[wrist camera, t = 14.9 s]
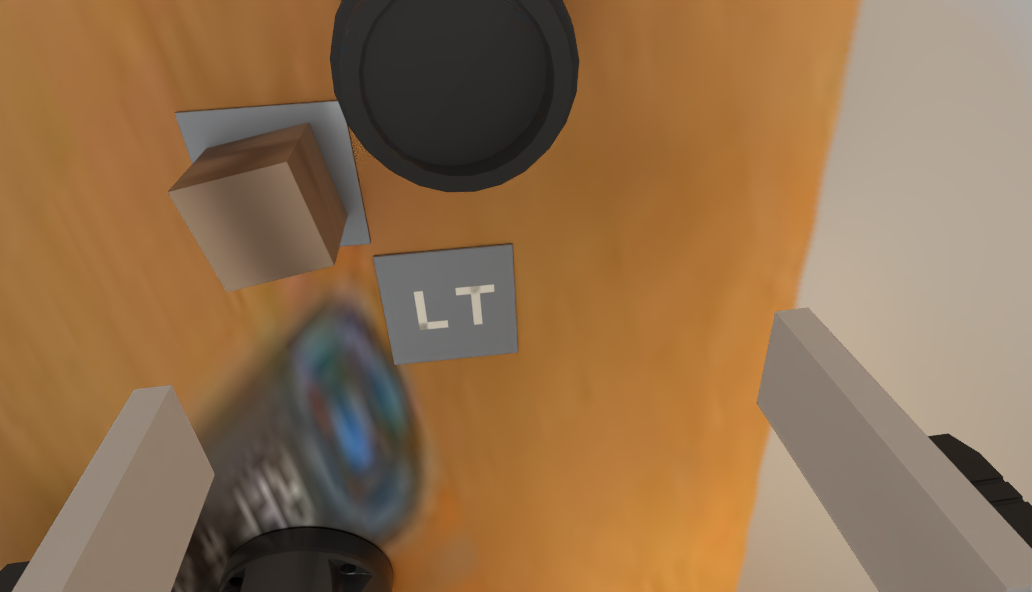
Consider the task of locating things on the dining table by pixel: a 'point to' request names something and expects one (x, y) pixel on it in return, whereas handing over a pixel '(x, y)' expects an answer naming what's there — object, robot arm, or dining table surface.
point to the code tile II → (252, 121)
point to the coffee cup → (455, 85)
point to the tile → (449, 303)
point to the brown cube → (263, 207)
